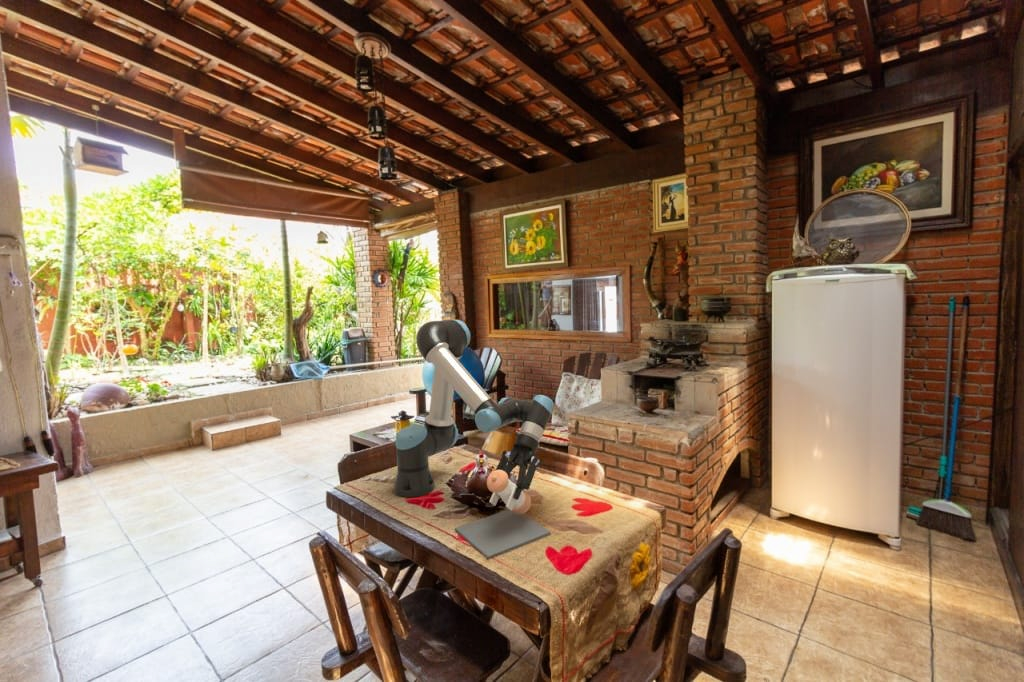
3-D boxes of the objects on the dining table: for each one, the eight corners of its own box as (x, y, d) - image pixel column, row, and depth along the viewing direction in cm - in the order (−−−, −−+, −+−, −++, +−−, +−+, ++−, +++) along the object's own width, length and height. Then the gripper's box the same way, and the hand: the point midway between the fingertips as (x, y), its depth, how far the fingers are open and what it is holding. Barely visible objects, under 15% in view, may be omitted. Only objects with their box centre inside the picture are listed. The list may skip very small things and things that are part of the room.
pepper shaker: (533, 509, 145) (505, 483, 132) (512, 517, 146) (483, 492, 134) (529, 489, 150) (502, 462, 138) (509, 497, 152) (481, 470, 139)
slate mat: (454, 530, 143) (454, 527, 142) (513, 510, 155) (513, 507, 155) (488, 559, 126) (487, 556, 126) (550, 534, 138) (550, 531, 138)
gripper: (557, 448, 148) (530, 518, 136) (511, 440, 159) (482, 504, 147) (548, 437, 143) (519, 508, 131) (501, 429, 154) (471, 494, 142)
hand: (500, 505), depth 139 cm, fingers closed on pepper shaker, 5 cm apart
